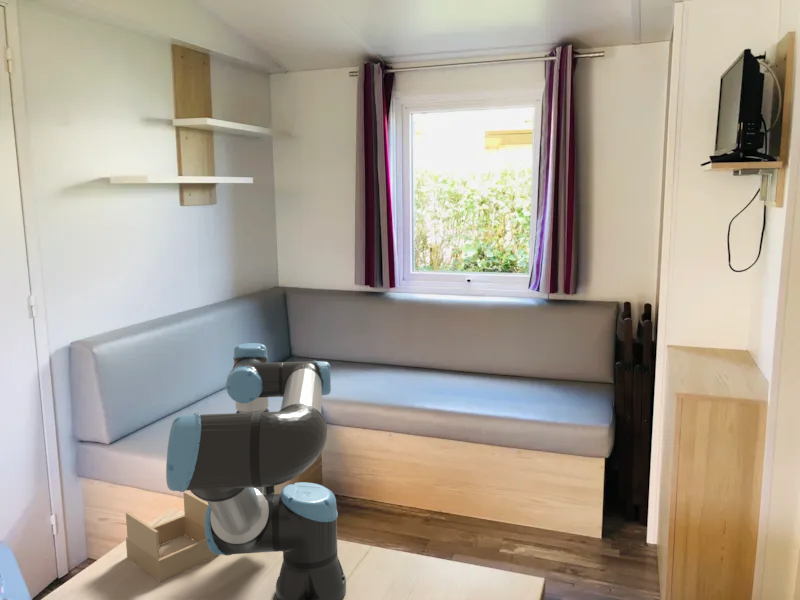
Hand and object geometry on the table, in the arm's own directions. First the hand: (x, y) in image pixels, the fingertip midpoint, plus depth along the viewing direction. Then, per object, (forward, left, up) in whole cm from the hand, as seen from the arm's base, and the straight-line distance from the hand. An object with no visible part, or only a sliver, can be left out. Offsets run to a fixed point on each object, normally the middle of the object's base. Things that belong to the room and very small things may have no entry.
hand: (255, 499), depth 155 cm
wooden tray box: (+14, +14, -13) cm, 24 cm away
